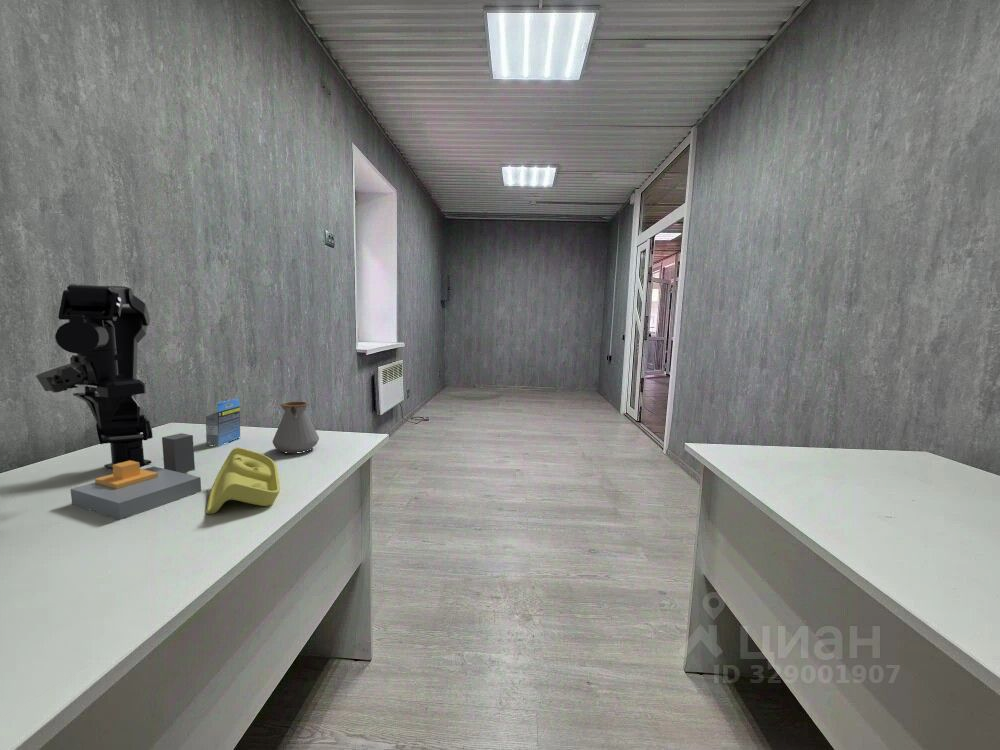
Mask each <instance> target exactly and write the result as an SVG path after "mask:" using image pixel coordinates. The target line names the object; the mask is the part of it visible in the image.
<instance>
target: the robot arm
mask: <svg viewBox="0 0 1000 750" xmlns="http://www.w3.org/2000/svg"><path fill="white" fill-rule="evenodd" d="M132 289H133V288H131V287H128V286H125V285H124V286H122V285H121V286H119V285H92V284H91V285H90V284H75V283H74V284H68V285H67V287H66V289H64V290H63V291H62V295H61V301H60V307H59V311H58V317H57V318H58V320H64V321H65V320H66V321H67V320H68V322H66V323H63V324H61V325H60V326H59V327H58V328H57V330H56V333H55V334H54V335H55V336H54V339H55V342H56V343H57V345H58V346H59V347H60V348H61V349H62V350H64V351H66V352H68V353H71V354H72V355H71V356H70V357H69V358H70V359H69V361H70V363H67V364H65V365H61V366H58V367H55V368H52V369H49V370H47V371H43V372H41V373H37V374H36V375H35V377H36V378H37V380H38V382H39V383H40V385H41V387H42V388H43V390H44V391H45V392H52V393H60V392H63V391H67V390H68V389H76V390H77V392H75V393H72V396H73V397H76V398H79V399H80V400H82V401H83V402H85V403H86V404H87V407H88V408H89V410H90V411H91V413H92V416H93V417H94V419H95V422H96V423H95V424H96V425H95V426H96V432H97V437H98V442H99V444H100V445H104V444H109V445H110V456H111V462H110V463H107V464H104V468H107V469H111V470H113V466H112V465H114V464H118V463H122V462H126V461H130V460H131V461H135V462H139V463H140V467H141V466H145V465H149V464H152V460H149V459H145V458H144V457H145V456H144V444H143V441H148V440H150V439H153V437H154V436H153V429H152V425H151V422H150V420H149V419H148V417H147V414H145V410H144V408H143V407H142V406H141V405H140V404H139V402H138V401H137V395H143V394H146V393H147V390H146V383H145V382H144V381H142V380H141V379H137V378H138V377H137V370H138V344H139V342H141V340H142V339H143V338H144V337H145V336H146V335H147V327H149V326H150V314H149V311H148V308H147V305H146V302H144V301H143V300H141V299H140V298H139V297H137V296H135V294H134V291H133V290H132ZM123 305H128V306H123Z"/></svg>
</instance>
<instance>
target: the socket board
mask: <svg viewBox="0 0 1000 750" xmlns="http://www.w3.org/2000/svg"><path fill="white" fill-rule="evenodd" d="M142 469H143V470H147V471H152V472H156V473H158V477H156V478H152V479H149V480H145V481H142V482H138V483H135V484H132V485H128V486H125V487H121V488H118V489H116V488H112V487H109V486H105V485H102V484H98V483H95V481H94V482H91V483H88V484H84V485H80V486H76V487H72V488H70V495H71V496H70V497H71V505H73V504H74V506H76V505H77V507H79V506H80V508H83V507H84V508H83V509H86V508H87V510H89V509H91V510H90V511H92V510H94V511H93V512H95V511H96V512H95V513H98V512H99V514H102V515H105V516H108V515H109V517H111V516H112V518H114V517H115V519H117V518H118V520H123V519H126V518H128V516H129V517H132V516H135V515H138V514H141V513H143V512H146V511H148V510H152V509H155V508H157V507H160V506H163V505H166V504H170V503H171V502H174V501H178V500H180V499H183V498H186V497H190V496H191V494H192V495H194V493H195V494H197V492H198V493H200V491H201V492H202V481H201V477H200V476H196V475H194V474H193V475H192V474H188V473H187V474H184V473H180V472H176V471H171V470H167V469H164V467H163V468H161V467H159V466H151V467H146V468H142ZM140 512H141V513H140ZM137 513H138V514H137ZM134 514H135V515H134ZM131 515H132V516H131ZM125 517H126V518H125ZM122 518H123V519H122Z"/></svg>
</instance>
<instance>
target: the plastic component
mask: <svg viewBox="0 0 1000 750" xmlns="http://www.w3.org/2000/svg"><path fill="white" fill-rule="evenodd" d="M278 470H279V469H278V466H277V464H276V461H274V460H273V459H271V458H270V457H269V456H266V455H265V454H263V453H260V452H258V451H254V450H251V449H246V448H243V447H240V446H238V447H235V448H233V449H232V450H231V451H229V454H228V456H227V457H226V460H225V461H224V463H223V464H222V466H221V468H220V470H219V472H218V474H217V476H216V478H215V480H214V482H213V484H212V486H211V489H210V492H209V496H208V500H207V504H206V505H207V506H206V510H205V511H206V512H205V514H206V515H207V514H209V515H214V514H216V513H217V512H218V511H219V510H220V509H221V507H222V506H223V505H224V504H225V503H226V502H227V501H230V500H231V501H232V500H233V501H237V502H238V501H239V502H243V503H245V504H251V505H256V506H260V507H270V506H272V505H273V504H274V503H275V502H276V499H277V497H278V494H279V493H280V491H281V487H280V478H279V471H278Z"/></svg>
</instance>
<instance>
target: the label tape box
mask: <svg viewBox="0 0 1000 750" xmlns="http://www.w3.org/2000/svg"><path fill="white" fill-rule="evenodd" d="M228 404H229V406H228ZM215 405H216V412H214V413H212V414H209V415H207V416H205V436H206V437H205V438H206V443H205V444H206V446H207V445H213V446H212V447H216V446H219V445H222V444H224V443H227V442H229V443H231V442H233V441H232V440H234V441H236V440H238V439H237V438H239V437H240V438H241V406H240V398H239V397H237V398H232V399H229V400H225V401H220V402H216V403H215ZM240 438H239V439H240ZM235 439H236V440H235ZM230 441H231V442H230ZM227 444H228V443H227ZM214 445H215V446H214ZM224 445H225V444H224ZM222 446H223V445H222ZM219 447H220V446H219Z"/></svg>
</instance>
